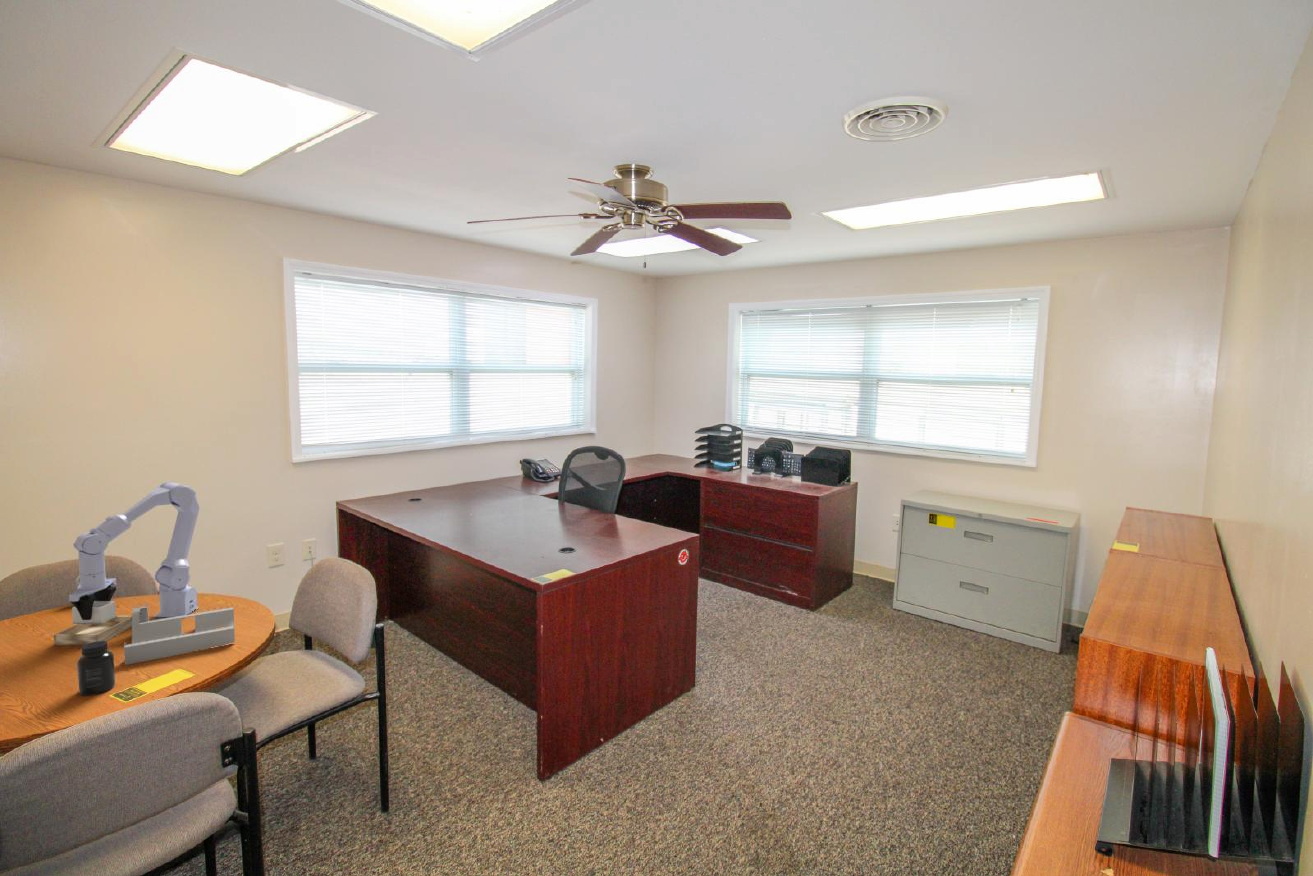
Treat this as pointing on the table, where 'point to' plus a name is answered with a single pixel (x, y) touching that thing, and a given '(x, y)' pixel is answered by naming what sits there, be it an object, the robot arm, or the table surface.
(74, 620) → the small crate
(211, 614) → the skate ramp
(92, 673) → the supplement bottle
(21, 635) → the table surface
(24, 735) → the table surface
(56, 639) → the shallow wooden tray
